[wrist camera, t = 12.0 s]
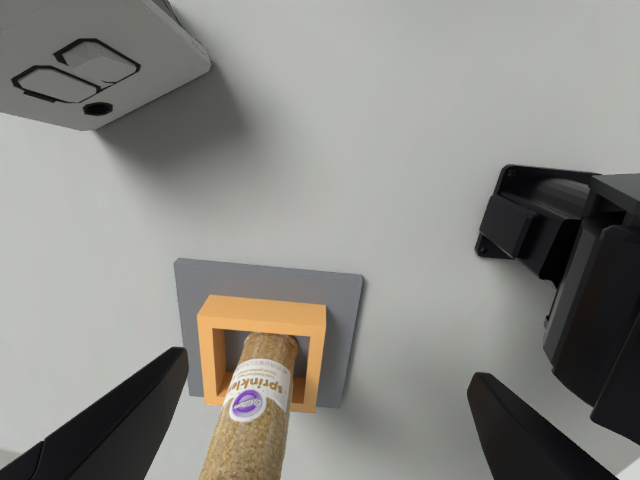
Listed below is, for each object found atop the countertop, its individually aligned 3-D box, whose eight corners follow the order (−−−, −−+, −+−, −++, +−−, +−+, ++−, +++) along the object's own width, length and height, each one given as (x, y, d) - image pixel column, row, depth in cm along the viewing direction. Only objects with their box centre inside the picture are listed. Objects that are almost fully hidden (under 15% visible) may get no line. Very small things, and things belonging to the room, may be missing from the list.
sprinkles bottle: (286, 318, 24) (243, 545, 11) (306, 359, 25) (287, 594, 13) (234, 332, 24) (141, 561, 12) (257, 371, 26) (195, 606, 14)
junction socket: (361, 274, 23) (367, 300, 20) (339, 400, 28) (341, 435, 25) (178, 258, 23) (155, 281, 19) (193, 388, 28) (177, 421, 25)
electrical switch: (92, 134, 19) (-116, 128, 10) (41, 48, 18) (-254, -44, 9) (219, 69, 17) (101, -3, 9) (174, -31, 16) (-23, -238, 7)
